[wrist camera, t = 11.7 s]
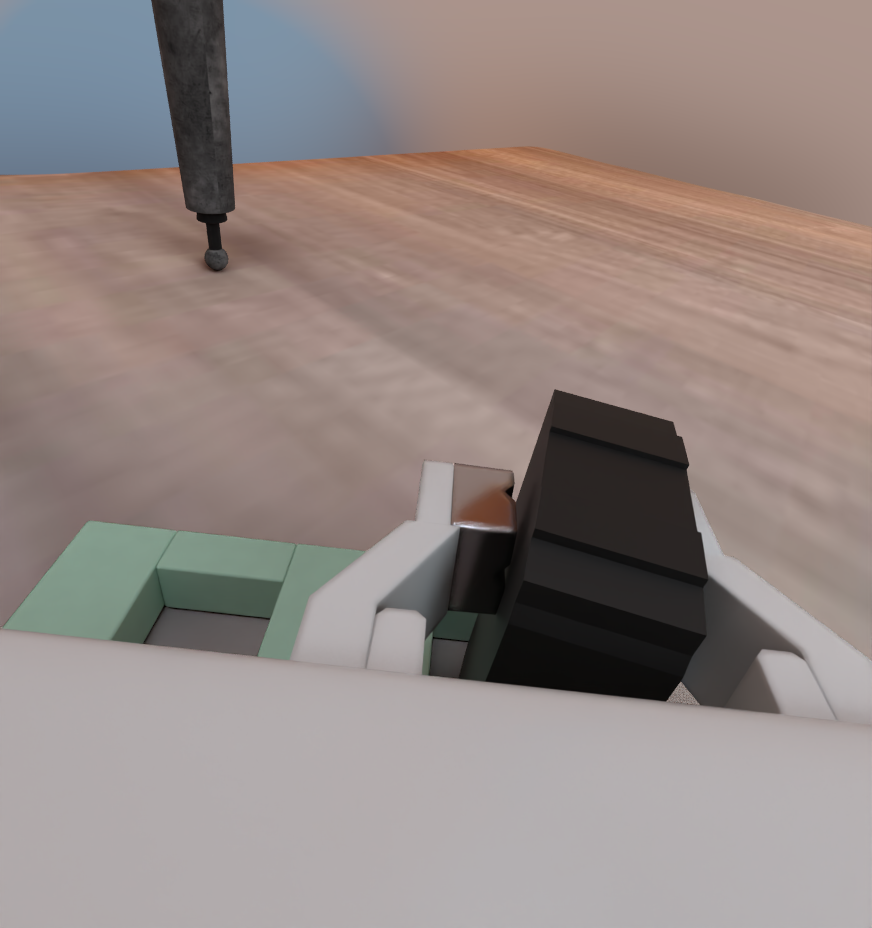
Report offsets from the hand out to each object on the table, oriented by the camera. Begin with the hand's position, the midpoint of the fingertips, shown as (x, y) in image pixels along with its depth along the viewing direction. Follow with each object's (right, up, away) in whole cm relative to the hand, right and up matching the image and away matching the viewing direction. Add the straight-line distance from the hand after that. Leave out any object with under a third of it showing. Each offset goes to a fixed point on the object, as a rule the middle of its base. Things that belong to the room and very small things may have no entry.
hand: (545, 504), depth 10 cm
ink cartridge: (-1, -6, +3) cm, 7 cm away
